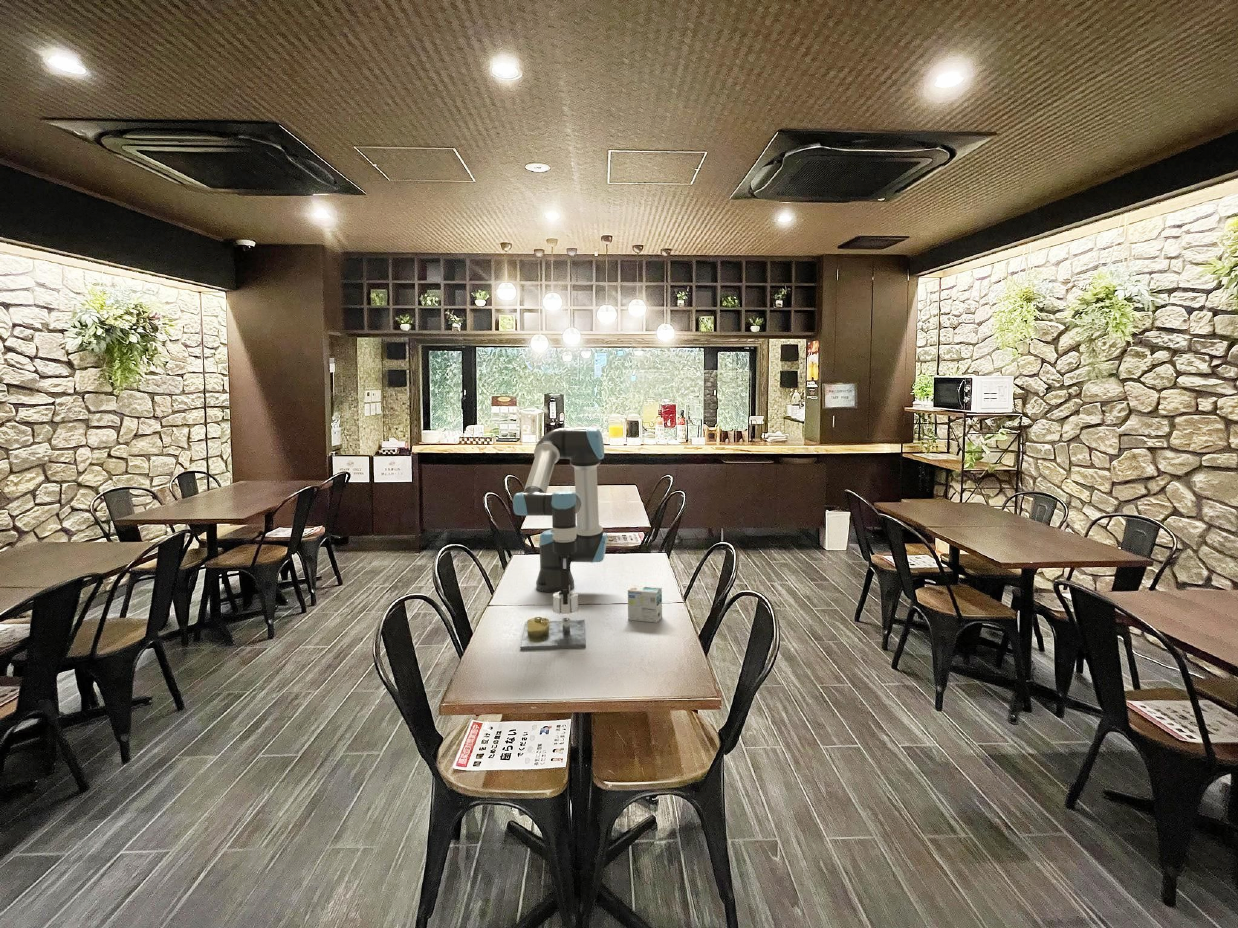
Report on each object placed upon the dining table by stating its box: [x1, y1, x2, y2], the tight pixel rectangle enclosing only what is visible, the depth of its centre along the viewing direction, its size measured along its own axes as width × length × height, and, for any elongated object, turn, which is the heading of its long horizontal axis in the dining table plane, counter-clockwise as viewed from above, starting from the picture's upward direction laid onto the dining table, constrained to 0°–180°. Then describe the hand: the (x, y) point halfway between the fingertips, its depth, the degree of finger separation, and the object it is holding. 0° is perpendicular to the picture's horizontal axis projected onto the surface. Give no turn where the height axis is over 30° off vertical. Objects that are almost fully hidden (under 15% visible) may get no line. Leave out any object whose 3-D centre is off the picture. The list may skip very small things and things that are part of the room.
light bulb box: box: [627, 584, 663, 624], centre depth 242 cm, size 11×7×11 cm, turn 71°
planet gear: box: [552, 590, 579, 615], centre depth 225 cm, size 8×8×5 cm
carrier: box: [519, 616, 587, 651], centre depth 226 cm, size 22×20×6 cm
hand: (565, 609), depth 226 cm, fingers closed on planet gear, 8 cm apart
